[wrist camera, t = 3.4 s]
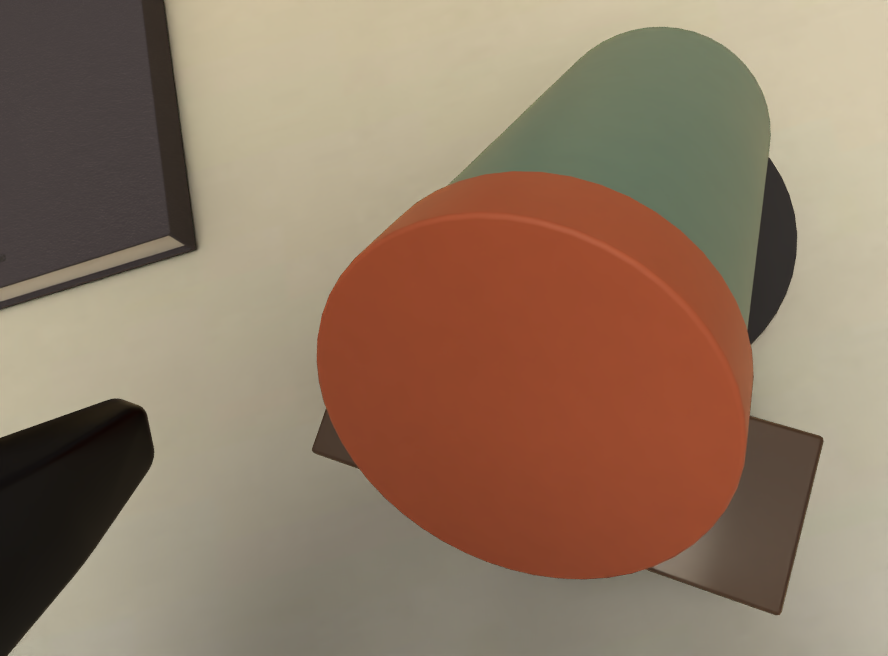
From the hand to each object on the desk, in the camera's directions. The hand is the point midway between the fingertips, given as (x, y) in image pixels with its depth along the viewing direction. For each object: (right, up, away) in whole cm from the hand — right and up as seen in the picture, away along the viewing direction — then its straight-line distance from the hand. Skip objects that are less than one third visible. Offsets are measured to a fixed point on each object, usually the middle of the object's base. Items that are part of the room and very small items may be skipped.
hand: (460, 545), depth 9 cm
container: (+4, +3, +12) cm, 13 cm away
